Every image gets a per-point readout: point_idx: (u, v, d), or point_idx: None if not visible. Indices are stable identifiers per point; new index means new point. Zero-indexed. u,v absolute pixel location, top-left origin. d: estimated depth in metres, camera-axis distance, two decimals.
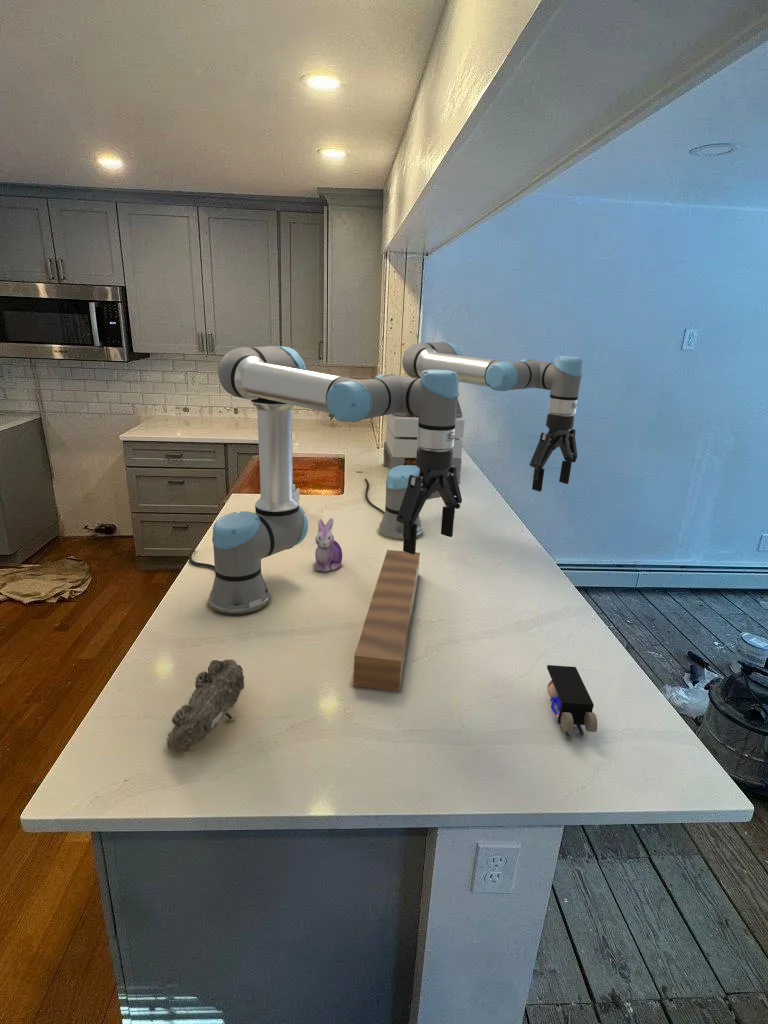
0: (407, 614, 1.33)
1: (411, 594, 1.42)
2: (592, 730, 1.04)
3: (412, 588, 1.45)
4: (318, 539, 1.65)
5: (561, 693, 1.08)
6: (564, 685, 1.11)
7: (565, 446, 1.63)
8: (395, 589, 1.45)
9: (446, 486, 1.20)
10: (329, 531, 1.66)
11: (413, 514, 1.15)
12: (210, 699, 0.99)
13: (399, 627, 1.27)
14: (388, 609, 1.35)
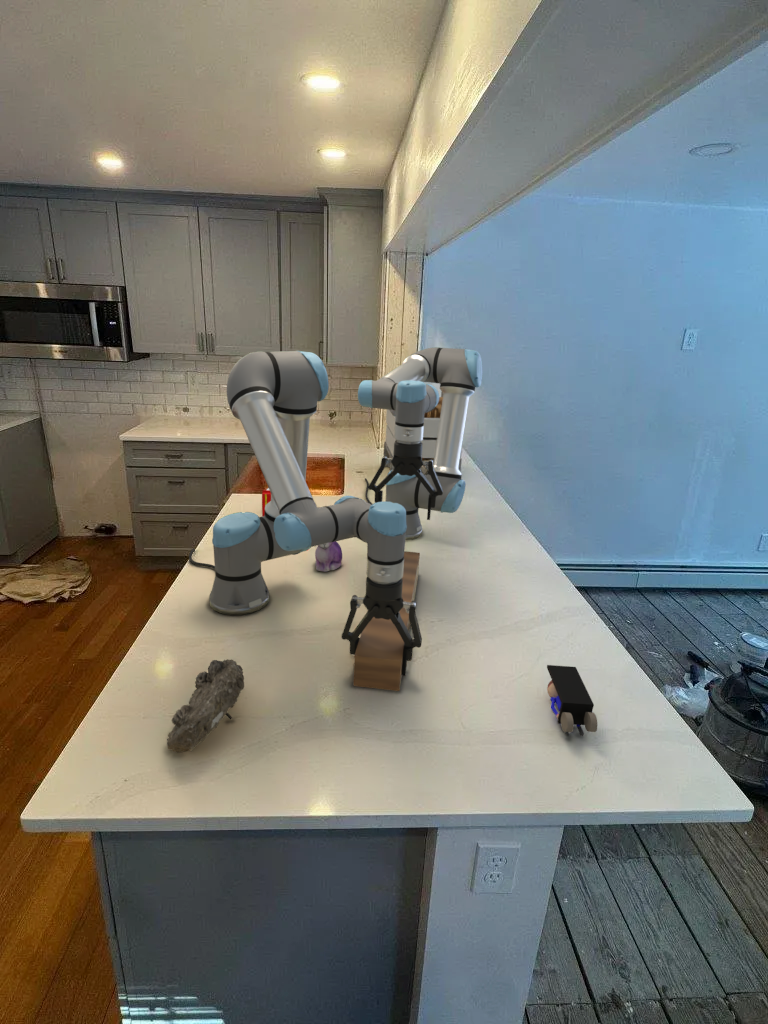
0: (407, 614, 1.33)
1: (411, 594, 1.42)
2: (592, 730, 1.04)
3: (412, 588, 1.45)
4: None
5: (561, 693, 1.08)
6: (564, 685, 1.11)
7: None
8: None
9: (392, 619, 1.17)
10: None
11: (353, 633, 1.21)
12: (210, 699, 0.99)
13: None
14: None
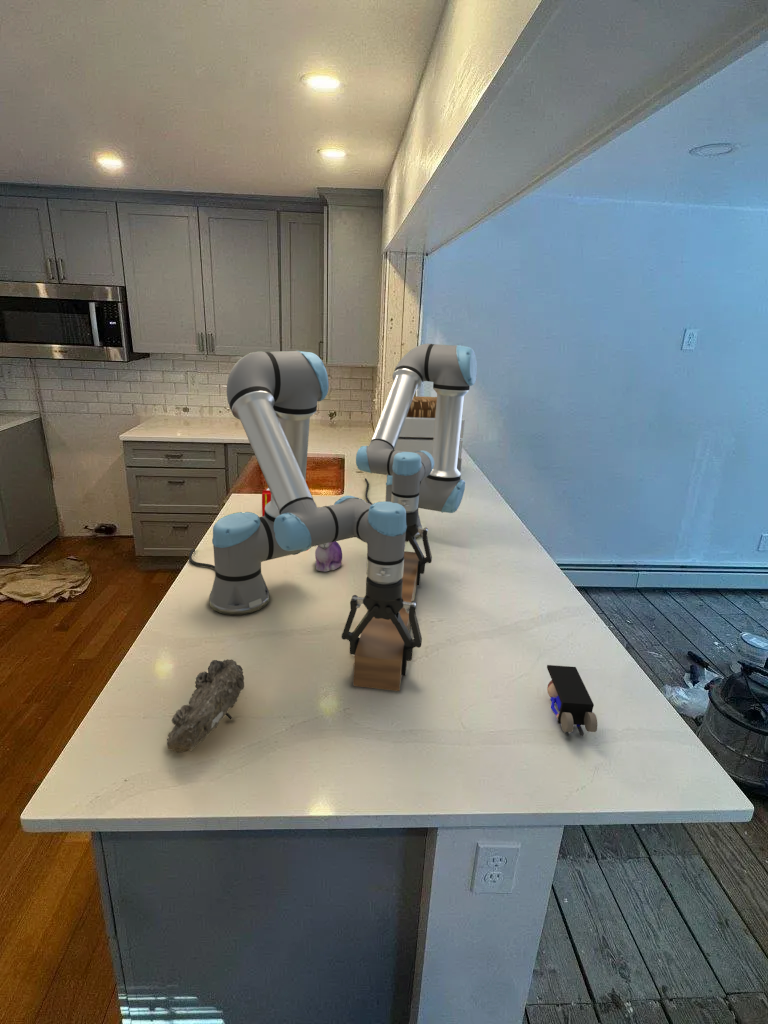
0: (407, 614, 1.33)
1: (411, 594, 1.42)
2: (592, 730, 1.04)
3: (412, 588, 1.45)
4: None
5: (561, 693, 1.08)
6: (564, 685, 1.11)
7: None
8: None
9: (392, 619, 1.17)
10: None
11: (353, 633, 1.21)
12: (210, 699, 0.99)
13: None
14: None
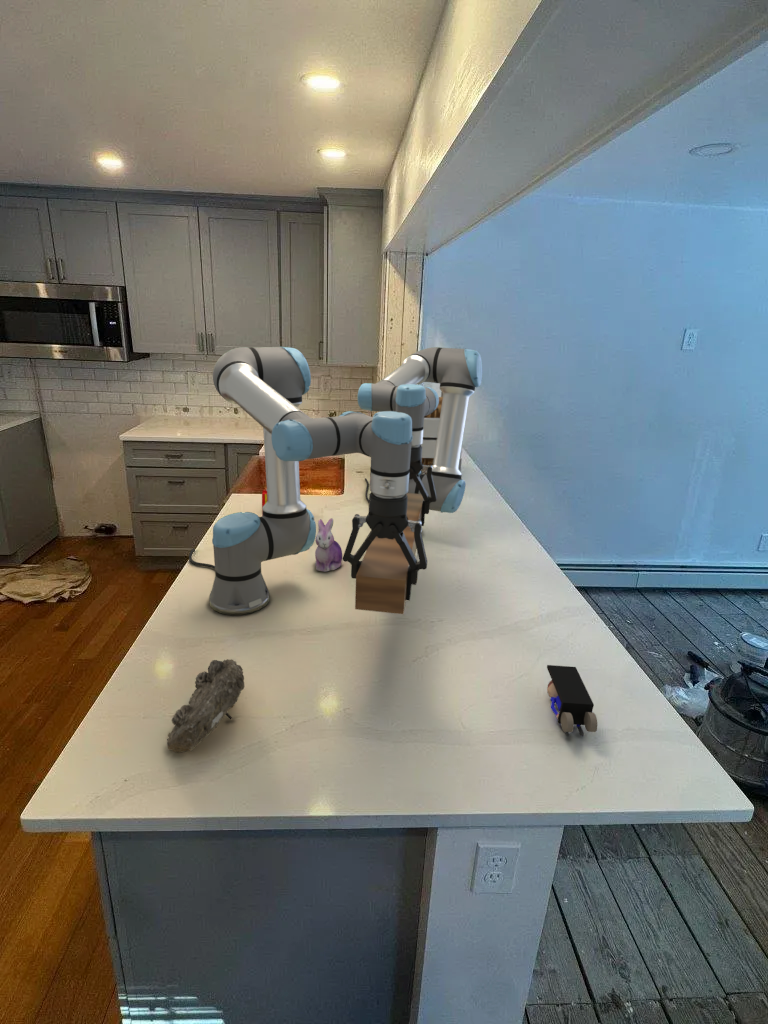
0: (411, 543, 1.27)
1: None
2: (592, 730, 1.04)
3: None
4: (318, 539, 1.65)
5: (561, 693, 1.08)
6: (564, 685, 1.11)
7: None
8: None
9: (396, 538, 1.11)
10: (329, 531, 1.66)
11: (355, 555, 1.15)
12: (210, 699, 0.99)
13: None
14: None
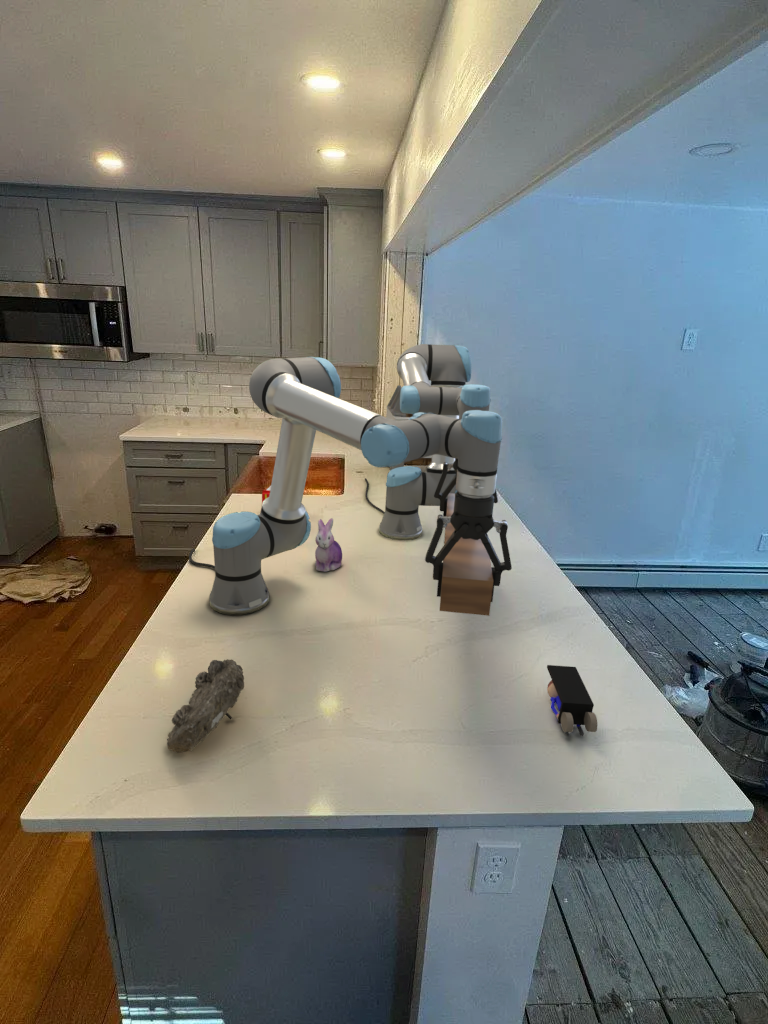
0: None
1: None
2: (592, 730, 1.04)
3: None
4: (318, 539, 1.65)
5: (561, 693, 1.08)
6: (564, 685, 1.11)
7: None
8: None
9: (482, 538, 1.10)
10: (329, 531, 1.66)
11: (438, 556, 1.13)
12: (210, 699, 0.99)
13: (482, 554, 1.20)
14: (466, 539, 1.28)
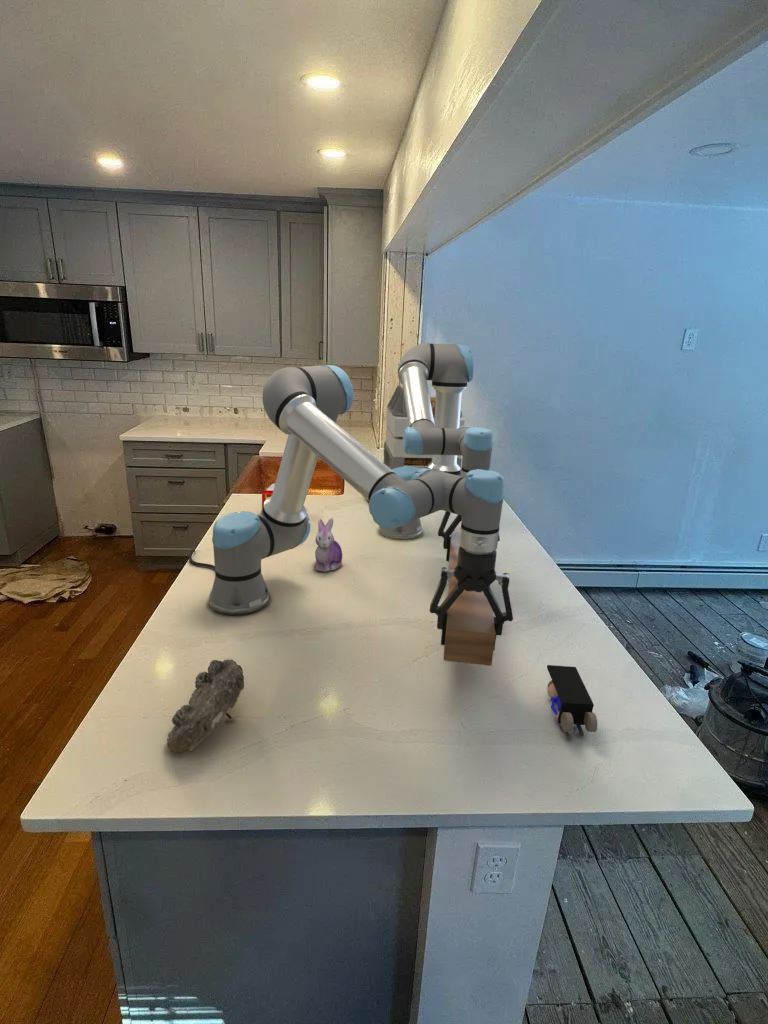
0: None
1: None
2: (592, 730, 1.04)
3: None
4: (318, 539, 1.65)
5: (561, 693, 1.08)
6: (564, 685, 1.11)
7: None
8: None
9: (485, 591, 1.14)
10: (329, 531, 1.66)
11: (442, 606, 1.17)
12: (210, 699, 0.99)
13: (484, 602, 1.24)
14: None
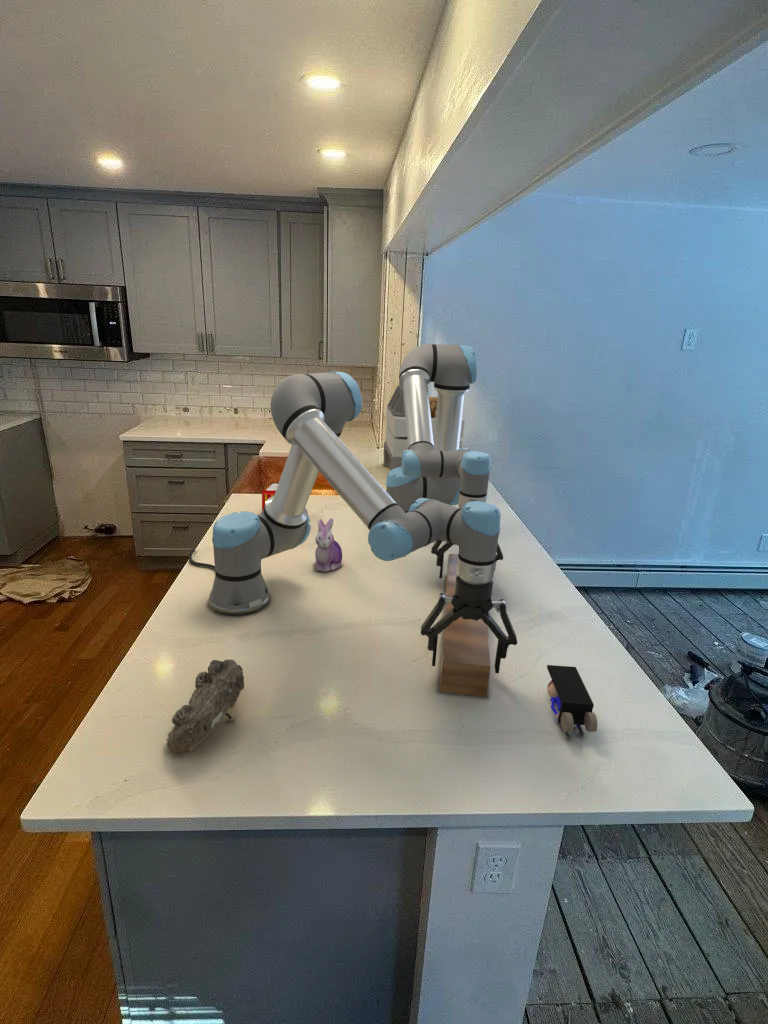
0: None
1: None
2: (592, 730, 1.04)
3: None
4: (318, 539, 1.65)
5: (561, 693, 1.08)
6: (564, 685, 1.11)
7: None
8: None
9: (483, 619, 1.16)
10: (329, 531, 1.66)
11: (434, 629, 1.19)
12: (210, 699, 0.99)
13: (480, 632, 1.27)
14: None
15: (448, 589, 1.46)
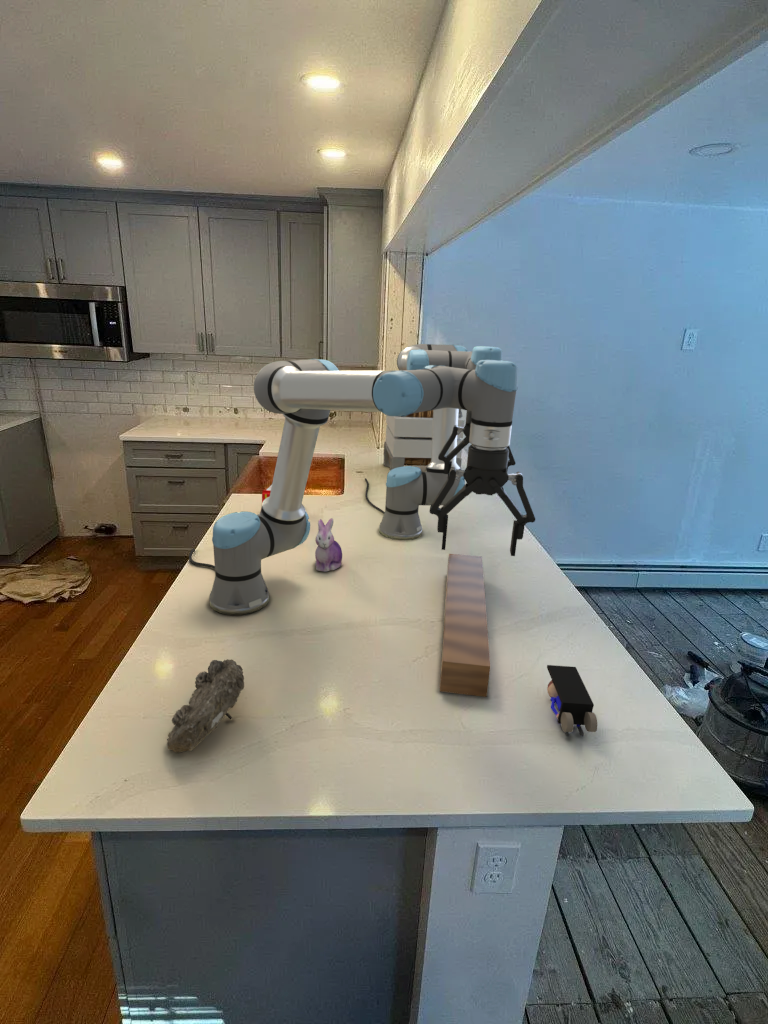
0: (485, 619, 1.32)
1: (484, 598, 1.42)
2: (592, 730, 1.04)
3: (483, 592, 1.45)
4: (318, 539, 1.65)
5: (561, 693, 1.08)
6: (564, 685, 1.11)
7: None
8: (466, 593, 1.44)
9: (498, 492, 1.07)
10: (329, 531, 1.66)
11: (444, 507, 1.10)
12: (210, 699, 0.99)
13: (480, 632, 1.27)
14: (465, 613, 1.34)
15: (448, 589, 1.46)
